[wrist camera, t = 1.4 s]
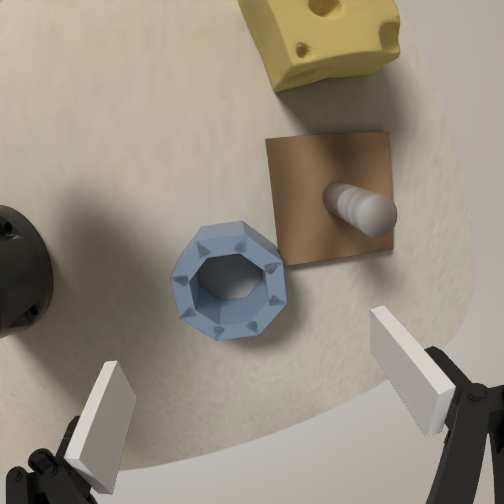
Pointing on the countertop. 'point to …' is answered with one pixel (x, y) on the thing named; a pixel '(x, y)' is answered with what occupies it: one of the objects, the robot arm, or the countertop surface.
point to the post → (331, 195)
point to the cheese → (322, 38)
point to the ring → (236, 310)
